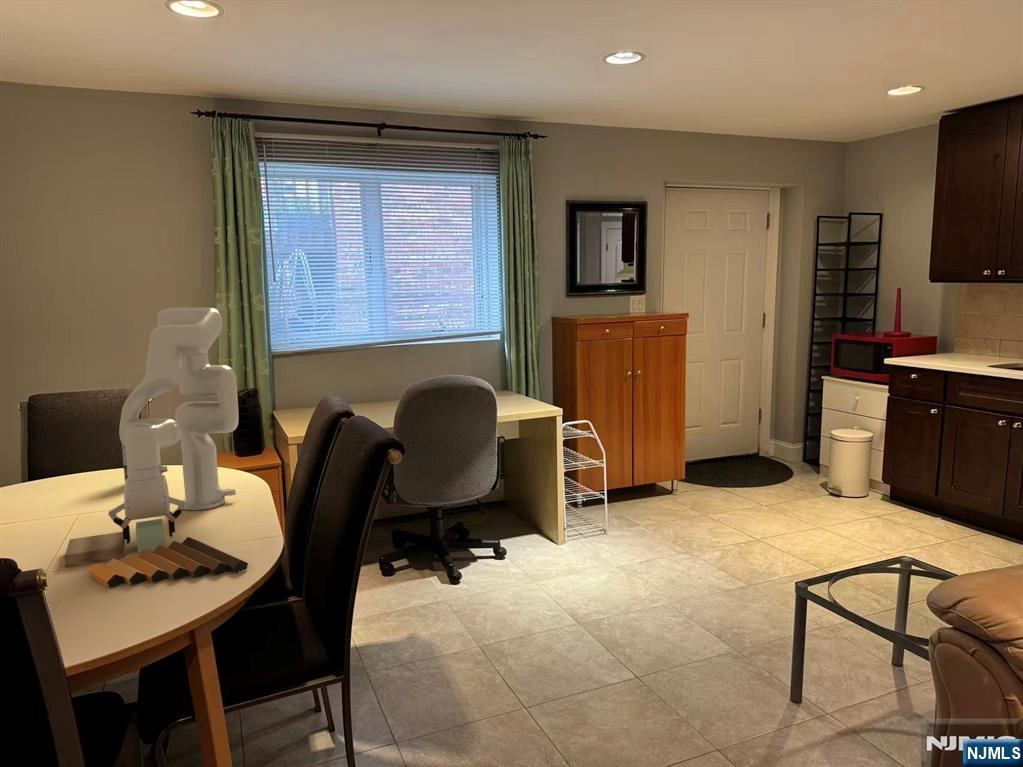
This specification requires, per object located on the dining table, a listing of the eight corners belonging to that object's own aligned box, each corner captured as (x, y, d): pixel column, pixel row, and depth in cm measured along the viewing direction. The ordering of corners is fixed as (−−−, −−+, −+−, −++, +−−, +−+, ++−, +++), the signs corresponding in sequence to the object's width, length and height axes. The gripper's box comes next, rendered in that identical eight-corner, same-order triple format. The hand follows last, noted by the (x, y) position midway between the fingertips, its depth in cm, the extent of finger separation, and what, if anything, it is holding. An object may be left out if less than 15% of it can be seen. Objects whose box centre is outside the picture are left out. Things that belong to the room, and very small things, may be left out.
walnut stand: (125, 542, 182) (124, 531, 181) (123, 558, 171) (122, 546, 170) (71, 550, 176) (70, 539, 176) (65, 567, 166) (64, 555, 165)
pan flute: (248, 571, 164) (195, 547, 179) (247, 557, 163) (194, 534, 179) (138, 610, 144) (89, 579, 160) (136, 595, 144) (88, 565, 159)
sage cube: (164, 540, 183) (162, 518, 182) (164, 548, 178) (162, 525, 177) (138, 544, 180) (136, 522, 179) (137, 552, 175) (135, 529, 174)
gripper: (182, 466, 183) (186, 528, 186) (106, 474, 176) (111, 539, 178) (183, 472, 177) (187, 537, 179) (104, 481, 169) (110, 549, 171)
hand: (150, 538), depth 178 cm, fingers open, 9 cm apart
